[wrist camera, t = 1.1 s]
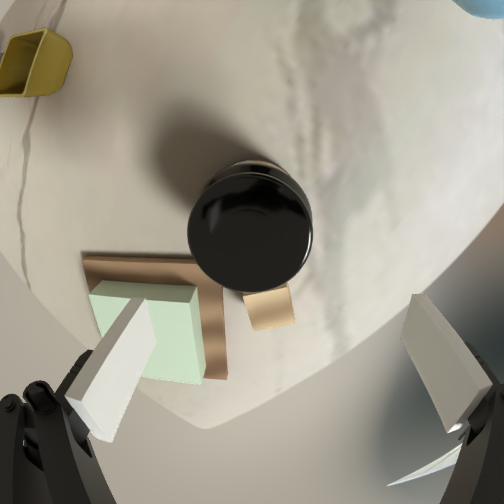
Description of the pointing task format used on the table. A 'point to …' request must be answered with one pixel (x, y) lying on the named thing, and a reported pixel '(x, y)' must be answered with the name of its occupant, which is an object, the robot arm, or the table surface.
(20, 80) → the flower pot
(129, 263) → the board
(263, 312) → the block
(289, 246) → the supplement container
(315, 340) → the table surface
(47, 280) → the table surface
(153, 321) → the pedestal slab
